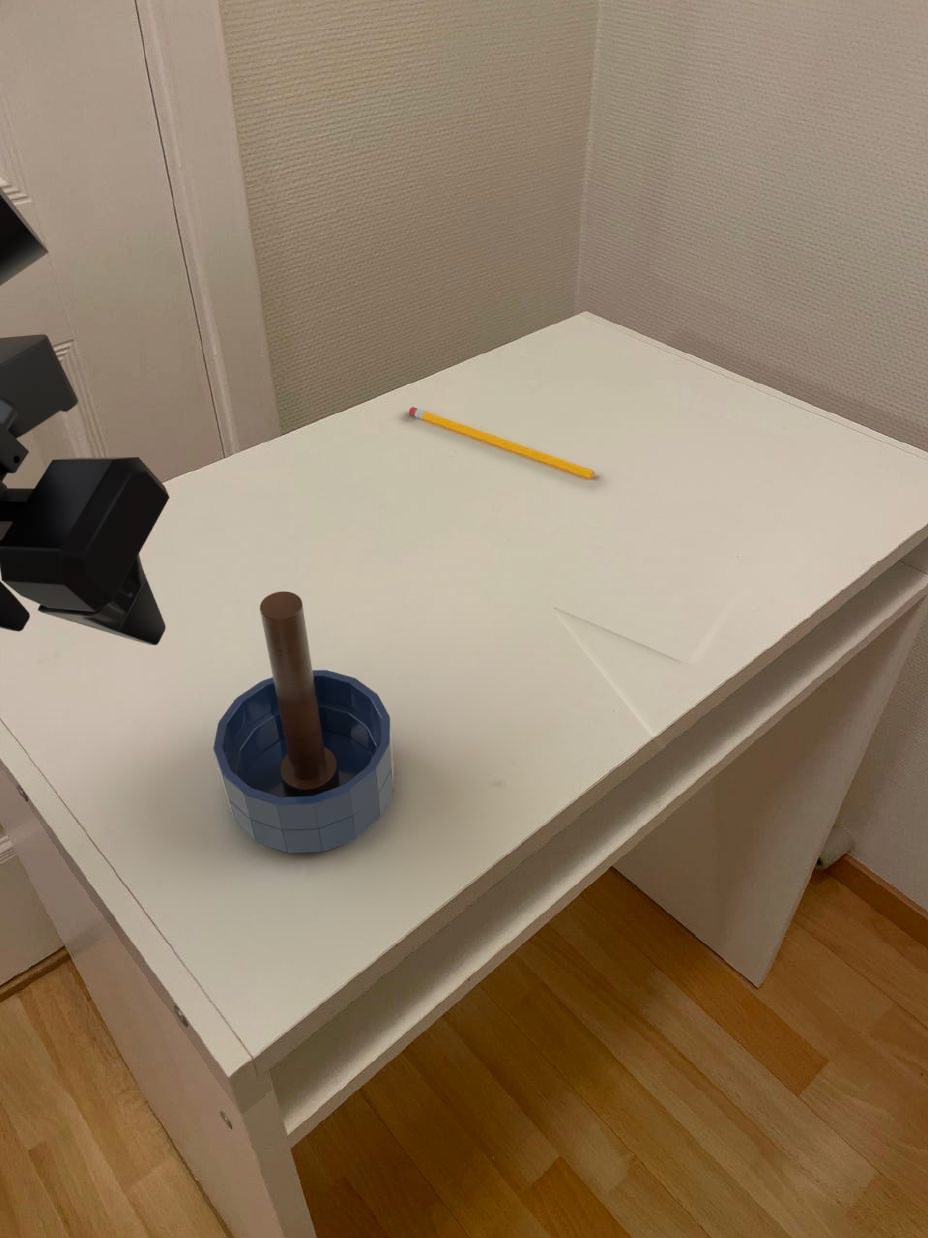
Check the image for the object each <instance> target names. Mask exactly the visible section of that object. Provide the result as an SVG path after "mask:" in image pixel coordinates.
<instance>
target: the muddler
mask: <svg viewBox="0 0 928 1238" xmlns="http://www.w3.org/2000/svg"><path fill="white" fill-rule="evenodd" d="M304 611H305V610H304V606H303V601H302V598H301V597H300V596H299V595H298V594H296V593H294V592H291V591H276V592H273V593H270V594H268V595H267V596H264V598H263V599H262V600H261V602H260V604H259V612H260V617H261V622H262V627H263V633H264V638H265V643H266V648H267V653H268V659H269V664H270V669H271V670H270V671H271V675H272V677H273V680H274V685H275V690H276V696H277V701H278V706H279V711H280V716H281V722H282V727H283V732H284V737H285V742H286V748H287V753H288V754H287V755H286V756H285V757H284V759H283V760H282V762H281V765H280V774H281V779H282V784H283V789H284V792H285V794H286V795H287V797H302V796H315V795H317V794H320V793H323V792H326V791H328V790H331V789H334V788H337V787H338V785H339V773H338V766H337V760H336V757H335V755H334V754H333V753H332V752H331V751H330V750H329V749H328V748H326V747H324V744H323V738H322V731H321V724H320V718H319V711H318V704H317V698H316V691H315V684H314V678H313V671H312V670H313V665H312V659H311V652H310V651H311V650H310V645H309V638H308V631H307V625H306V618H305V612H304Z"/></svg>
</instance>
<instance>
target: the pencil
mask: <svg viewBox="0 0 928 1238" xmlns="http://www.w3.org/2000/svg"><path fill="white" fill-rule="evenodd" d="M408 414H409V416H411V417H414V418H417V419H419V420H422V421H425V422H427V423H431V424H433V425H436V426H439V427H442V428H445V429H447V430H451V431H453V432H456V433H459V434H461V435H464V436H467V437H470V438H473V439H476V440H478V441H482V442H484V443H487V444H490V445H492V446H495V447H497V448H501V449H504V450H505V451H509V452H511V453H515V454H517V455H520V456H523V457H526V458H529V459H531V460H534V461H537V462H540V463H543V464H545V465H548V466H551V467H554V468H556V469H559V470H563V471H564V472H567V473H570V474H574V475H576V476H580V477H582V478H585V479H587V480H592V479H593V478H594V476H595V470H592V469H590V468H587V467H585V466H581V465H579V464H576V463H572V462H570V461H568V460H564V459H561V458H559V457H556V456H553V455H550V454H548V453H545V452H542V451H539V450H536V449H533V448H530V447H528V446H525V445H522V444H519V443H516V442H513V441H510V440H507V439H505V438H503V437H499V436H496V435H495V434H492V433H491V434H490V433H488V432H485V431H483V430H479V429H476V428H474V427H471V426H468V425H465V424H463V423H460V422H457V421H454V420H451V419H449V418H445V417H443V416H441V415H436V414H434V413H432V412H428V411H425V410H423V409H421V408H416V407H415V406H412V407H410V408H409V410H408Z"/></svg>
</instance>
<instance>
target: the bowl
mask: <svg viewBox="0 0 928 1238" xmlns="http://www.w3.org/2000/svg"><path fill="white" fill-rule="evenodd" d="M312 671H313V678H314V684H315V691H316V698H317V704H318V711H319V718H320V724H321V731H322V738H323V744H324V747H326V748H328V749H329V750H330V751H331V752H332V753H333V754H334V755H335V757H336V760H337V766H338V773H339V785H338V787H337V788H334V789H331V790H328V791H326V792H323V793H320V794H317V795H315V796H302V797H287V795H286V794H285V792H284V789H283V784H282V779H281V774H280V765H281V762H282V760H283V759H284V757H285V756H286V755H287V754H288V753H287V748H286V742H285V737H284V732H283V727H282V722H281V716H280V711H279V706H278V701H277V696H276V690H275V685H274V680H273V676H272V677H269V678H266V679H263V680H261V681H259V682H257V683H256V684H255V685H253V686H252V687H250V688H249V689H247V690H245V692H242V694H240V695H238V696H237V697H236V698H235V699H234V700H233V701H232V703H231V704H230V705H229V706H228V709H227V710H226V711H225V712H224V714H223V716H222V717H221V718H220V719H219V721H218V723H217V728H216V733H215V737H214V743H213V748H212V749H213V754H214V757H215V762H216V765H217V768H218V771H219V775H220V779H221V783H222V786H223V790H224V793H225V797H226V801H227V803H228V806H229V809H230V812H231V815H232V818H233V821H234V822H235V824H236V825H237V826H238V827H239V828H240V829H241V830H242V831H244V832H245V833H246V834H247V835H248V836H249V837H250V839H252V840H253V841H255V842H256V843H258V844H260V845H263V846H266V847H268V848H272V849H274V850H278V851H281V852H284V853H288V854H293V853H294V854H296V853H299V854H300V853H320V852H321V853H322V852H326V851H328V850H331V849H334V848H337V847H339V846H341V845H345V844H347V843H349V842H352V841H355V840H357V838H359V837H360V836H361V835H362V834H363V833H364V832H366V831H367V830H368V829H369V828H370V827H372V826H373V825H374V824H375V823H376V822H378V820H380V818H381V817H382V815H383V813H384V811H385V809H386V808H387V805H388V803H389V801H390V800H391V798H392V795H394V794H393V793H394V785H395V784H394V783H395V781H394V775H395V774H394V773H395V772H394V771H395V766H394V765H395V764H394V752H393V751H394V750H393V737H392V723H391V717H390V714H389V713H388V711H387V709H386V707H385V705H384V703H383V702H382V700H381V697H380V696H379V694H378V693H377V692H375V691H374V690H372V689H371V688H370V687H368V686H367V685H366V684H364V683H363V682H362V681H360V680H359V679H357V678H355V677H353V676H349V675H346V674H343V673H339V672H336V671H331V670H328V669H315V670H314V669H312Z"/></svg>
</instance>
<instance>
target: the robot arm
mask: <svg viewBox="0 0 928 1238" xmlns="http://www.w3.org/2000/svg"><path fill="white" fill-rule="evenodd" d="M49 253H50V252H49V250H48V248H47V247H46V245H45V244H44V242H43V241H42V239H41V238H40V237H39V236H38V234H37V233H36V232H35V230H34V229H33V227H32V226H31V225H30V223H29V222H28V221H27V220H26V218H25V217H24V216H23V213H21V211H20V210H19V209H18V207H17V206H16V205H15V204H14V203H13V201H12V200H11V198H10V197H9V195H8V194H7V193H6V192H5V191H4V189H3V188H2V187H1V186H0V287H1V286H2V285H4V284H5V283H7V282H9V281H10V279H13V278H14V277H16V276H17V275H18V274H20V273H21V272H23V271H24V270H26V269H27V268H28V267H30V266H31V265H33V264H35V263H36V262H37V261H39V260H40V259H41V258H43V257H45V256H46V255H47V254H49ZM55 351H56V350H55V349H54V347H53V345H52V343H51V341H50V339H49V337H48V335H47V334H45V333H40V334H29V335H28V334H27V335H18V336H9V337H8V336H7V337H0V578H1V580H0V629H3V630H7V631H12V632H22V631H23V630H24V629H25V627H26V626H27V623H28V622H29V620H30V618H31V613H30V612H29V610H28V609H27V608H26V607H25V606H24V605H23V603H21V601H20V600H19V599H18V597H17V596H16V595H15V594H13V591H14V592H15V593H17V594H18V595H19V596H20V597H23V598H25V599H26V600H29V601H32V602H34V603H36V604H38V605H39V606H38V608H37V612H40V613H42V614H45V615H48V616H52V617H55V618H59V619H61V620H65V621H68V622H72V623H76V624H78V625H82V626H84V627H88V628H92V629H95V630H98V631H101V632H105V633H108V634H111V635H114V636H118V637H121V638H124V639H128V640H130V641H131V640H132V641H134V642H137V643H142V644H145V645H149V646H157V645H159V643H160V641H161V639H162V638H163V636H164V633H165V632H166V628H167V627H166V623H165V620H164V618H163V615H162V613H161V611H160V608H159V605H158V603H157V601H156V598H155V596H154V593H153V591H152V589H151V586H150V582H149V580H148V578H147V575H146V573H145V570H144V567H143V564H142V560H141V556H140V553H141V551H142V549H143V547H144V545H145V543H146V542H147V540H148V538H149V536H150V534H151V532H152V531H153V529H154V528H155V525H156V524H157V521H158V520H159V518H160V516H161V515H162V513H163V510H164V509H165V507H166V505H167V503H168V501H169V499H170V498H171V497H170V495H169V492H168V490H167V488H166V486H165V485H164V483H163V482H162V481H161V480H160V479H159V478H158V477H157V476H156V475H155V474H154V472H153V471H152V470H151V469H150V468H149V467H148V466H147V465H146V463H145V462H144V461H143V460H142V459H141V458H140V456H117V457H115V456H114V457H110V456H108V457H105V456H104V457H103V456H102V457H101V456H100V457H71V458H59V459H58V458H57V459H56V458H55V459H52V460H51V461H50V463H49V464H48V466H47V468H46V469H45V471H44V472H43V474H42V475H41V477H40V479H39V480H38V482H37V484H36V485H35V486H34V487H33V488H31V487H30V488H29V487H27V488H25V487H24V488H23V487H21V488H20V487H19V488H18V487H15V488H14V487H13V488H12V487H8V486H7V485H6V483H4V482H3V481H4V479H5V478H6V476H7V475H8V474H15V473H17V472H18V470H19V469H20V467H21V466H22V464H23V462H24V461H25V459H26V458H27V456H28V455H29V454H30V451H29V450H28V449H27V448H26V447H25V445H23V444H22V443H21V442H20V441H19V440H18V439H20V438H21V437H23V436H25V435H26V434H28V433H30V432H31V431H32V430H34V429H35V428H36V427H38V426H39V425H41V424H43V423H45V422H47V420H49V419H50V418H52V417H53V416H55V415H56V414H58V413H59V412H62V413H68V412H69V411H70V410H72V409H74V408H75V407H76V406H77V405H78V403H79V398H78V397H77V396H78V395H77V394H76V392H75V390H74V388H73V386H72V384H71V381H70V380H69V377H68V375H67V374H66V372H65V370H64V368H63V366H62V363H61V362H60V359H59V357H58V354H57V353H56V352H55ZM6 585H7V586H8V587H9V588H11V589H9V588H8V587H7V586H6ZM11 590H13V591H11Z"/></svg>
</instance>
